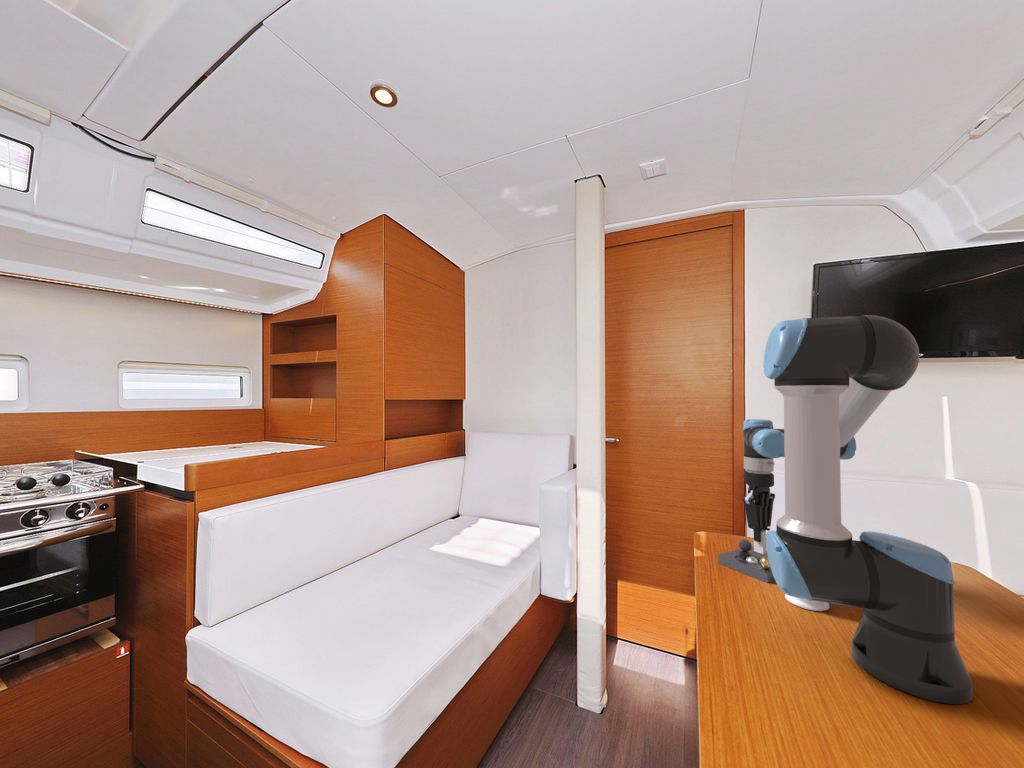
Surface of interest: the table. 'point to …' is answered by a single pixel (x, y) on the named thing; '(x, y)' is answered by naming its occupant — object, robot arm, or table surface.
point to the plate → (746, 564)
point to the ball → (752, 560)
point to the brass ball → (765, 562)
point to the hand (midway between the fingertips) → (759, 552)
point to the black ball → (745, 545)
